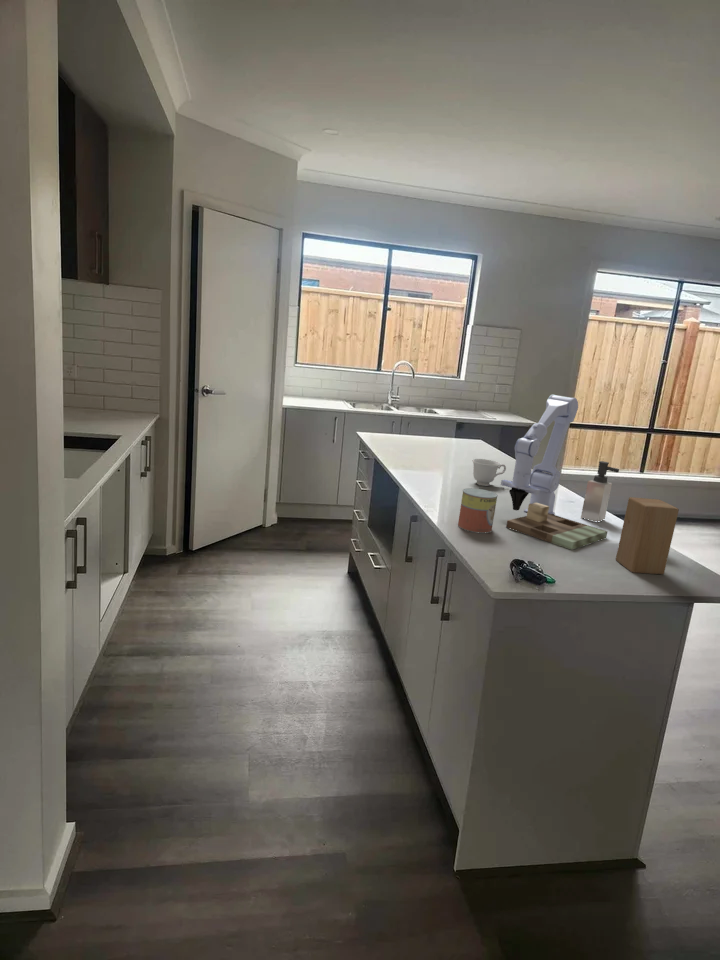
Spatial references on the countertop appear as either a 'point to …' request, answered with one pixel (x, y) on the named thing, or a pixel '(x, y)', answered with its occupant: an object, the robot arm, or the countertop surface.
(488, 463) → the teacup
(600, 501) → the soap dispenser
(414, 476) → the countertop surface
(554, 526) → the trap board
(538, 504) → the maple cube
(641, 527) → the wooden block
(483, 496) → the canned food
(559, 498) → the countertop surface
